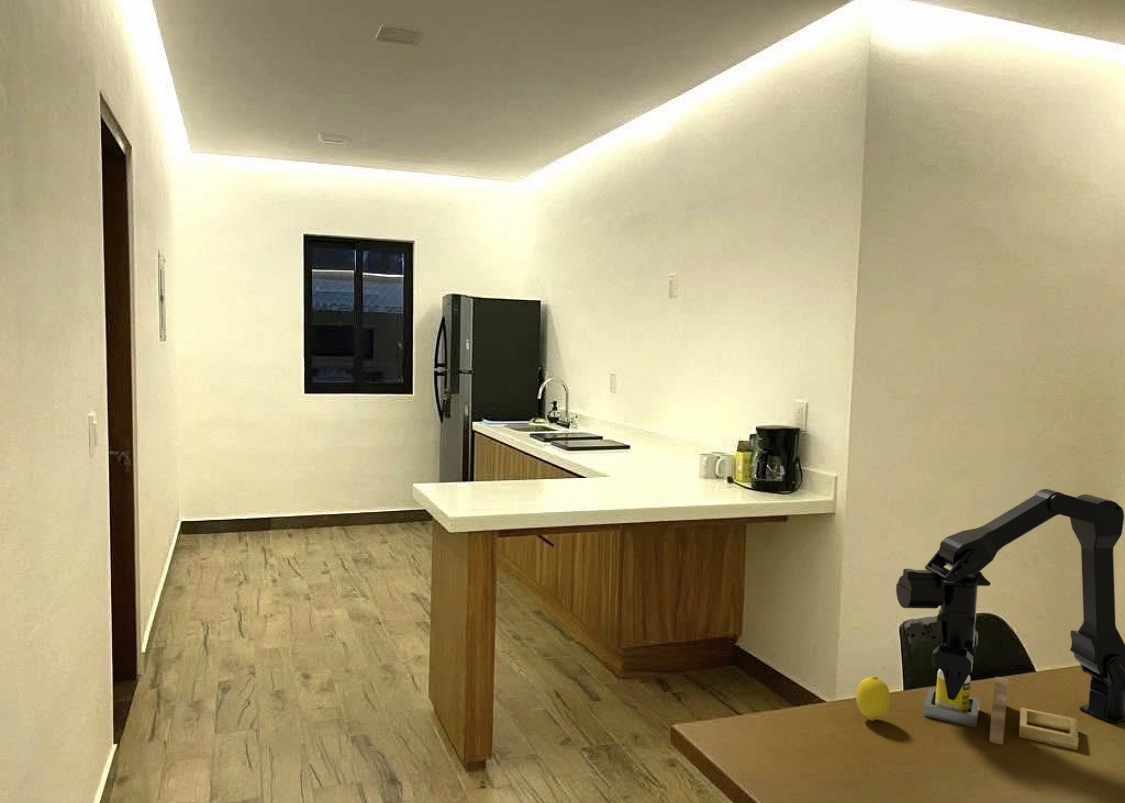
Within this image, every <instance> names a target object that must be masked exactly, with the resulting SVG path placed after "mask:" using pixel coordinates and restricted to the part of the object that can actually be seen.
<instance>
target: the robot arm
mask: <svg viewBox="0 0 1125 803" xmlns="http://www.w3.org/2000/svg"><path fill="white" fill-rule="evenodd" d="M1124 512H1125V511H1124V509H1123V507H1122V506H1120V505H1119V504H1118V503H1117V502H1116V501H1114V500H1110V499H1107V498H1103V497H1099V496H1096V495H1092V494H1087V493H1085V494H1079V495H1078V496H1077V497H1076V496H1072V495H1069V494H1065V493H1063V492H1059V491H1057V490H1054V489H1050V488H1043V489H1040V490H1038V491H1037V492H1035V494H1034V495H1032V496H1031V497H1029V498H1028V499H1025V500H1024V501H1022V502H1021V503H1019V504H1018V505H1016V506H1014V507H1012V508H1011V509H1009V510H1007V511H1005V512H1004V513H1002V514H1001V515H999V516H997V517H995V518H994V519H992V520H991V521H989V522H987V523H985V524H984V525H981V526H979V527H976V528H975V527H974V528H971V529H964V530H961V531H958V532H956V533H953V534H951V535H949V536H946V537H945V538H944V539H943V540H941V541H940V543H939V549H938V550H937V552H936V553H935V554H934V555H933V556H932V557H931V559H930V560H929V561H928V562H927V563H926V565H925V567H924V569H913V568H904V569H903V570H902V575H901V576H900V577H899V579H898V581H897V583H896V585H895V592H896V598H897V600H898V604H899V606H900V607H901V608H903V609H934V610H935V609H937V608H939V607H940V608H939V610H938V614H937V615H936V616H926V617H920V618H919V617H917V618H913V619H908V620H907V621H906V623H904V629H905V637H907V638H908V642H909V644H911V645H913V644H914V645H915V644H918V643H919V642H925V641H927V642H928V641H933V640H935V642H934V643H935V644H937V645H938V646H936V648H934V649H933V651H932V654H931V664H930V665H931V666H932V668H936V669H941V670H942V672H943V675H944V680H945V685H946V691H947V696H948V699H951V700H955V699H956V697H957V695H958V693H959V691H960V690H961V688H962V686H963V684H964V683H965V681H966V679H967V677H968V676H969V675H970V674H972V672H973V664H974V657H975V654H976V648H974V647H977V646H978V638H979V636H978V635H979V632H978V631H977V630H976V620H977V600H978V587H990V586H991V582H990V581H989V580H988V579H987V578H986V577H985V576H984V574H983V573H982V572H981V571H982V570H984V569H985V568H986V567H987V566H988V565H989V564H991V563H992V562H993V561H994V558H995V557H996V556H997V553H998V552H999V551H1000V550H1001V549H1003V548H1004V547H1005V546H1007V545H1009V544H1010V543H1012V542H1014V541H1015V540H1017V539H1019V538H1021V537H1023V536H1025V535H1026V534H1027V533H1029V532H1031V531H1032V530H1034V529H1036V528H1037V527H1039V526H1041V525H1043V524H1044V523H1046V522H1048V521H1049V520H1052V519H1053V518H1054V517H1056V516H1059V515H1060V516H1063V517H1067V518H1069V520H1070V526H1071V529H1072V531H1073V533H1074V535H1075V536H1076V539H1077V540H1078V542H1079V544H1080V551H1081V554H1080V555H1081V556H1080V557H1081V580H1082V581H1081V582H1082V607H1083V608H1082V609H1083V613H1082V614H1083V615H1082V616H1083V623H1082V624H1081V626H1080V627H1079V629H1078V630H1074V629H1073V630H1070V634H1069V635H1070V638H1071V646H1070V650H1069V651H1070V652H1072V653H1073V655H1074V656H1073V657H1074V658H1075V660H1076V661H1077V662H1078V663H1079V664H1080V668H1081V671H1082V672H1083V673H1086V674H1087V675H1090V681H1089V691H1088V692H1089V693H1088V703H1087V704H1084V705H1080V706H1079V708H1078V709H1079V711H1081V712H1085V713H1086V714H1087V713H1088V714H1089V715H1092V716H1095V717H1098V718H1099V719H1103V720H1105V721H1107V722H1110V723H1113V724H1118V723H1122V722H1125V641H1124V640H1123V638H1122V636H1121V634H1120V632H1119V630H1118V629H1117V625H1116V598H1115V596H1116V593H1115V562H1114V561H1115V560H1114V547H1115V546H1116V544H1117V543H1118V541H1119V539H1120V538H1121V537H1122V534H1123V529H1124V528H1123V526H1124V520H1125V513H1124ZM946 566H948V567H950V569H949V568H946Z"/></svg>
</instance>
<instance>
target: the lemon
mask: <svg viewBox="0 0 1125 803" xmlns="http://www.w3.org/2000/svg"><path fill="white" fill-rule="evenodd" d="M855 698H856V700H855V701H856V705H857V708H858V709H859V711H860V712H861V714H862V715H863V716H865V717H867V718H868V719H869V721H872V722H874V721H875V720H877V719H880V718H881V719H882V718H883V717H884V716H885V715H886V714H887V713H888V711H889V709H890V705H891V695H890V690H889V687H888V685H887V684H886V682H884V681H883V680H882V679H881V678H879V677H878V676H876V675H872V676H869V677H866V678H864V679H863V680H861V681H860V683H859V685H858V687H857V690H856V697H855Z"/></svg>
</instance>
